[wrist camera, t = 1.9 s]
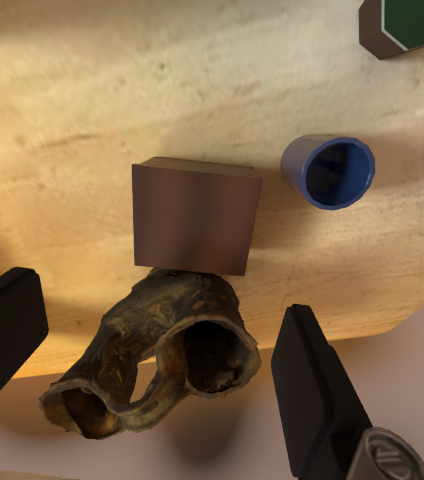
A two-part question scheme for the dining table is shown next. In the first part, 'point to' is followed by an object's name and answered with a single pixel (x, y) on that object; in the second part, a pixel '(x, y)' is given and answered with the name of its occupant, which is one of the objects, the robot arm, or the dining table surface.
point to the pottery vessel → (167, 356)
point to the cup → (328, 169)
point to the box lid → (193, 219)
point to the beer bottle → (391, 26)
